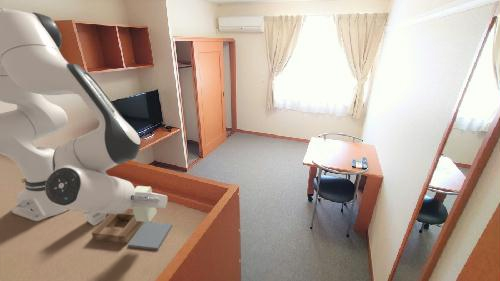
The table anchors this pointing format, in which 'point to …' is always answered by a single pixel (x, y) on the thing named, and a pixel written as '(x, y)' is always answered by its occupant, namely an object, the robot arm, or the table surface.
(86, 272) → the table surface
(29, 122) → the robot arm
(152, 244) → the slate rubber pad
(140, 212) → the sage block
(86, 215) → the ink cartridge box
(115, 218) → the walnut puzzle board
